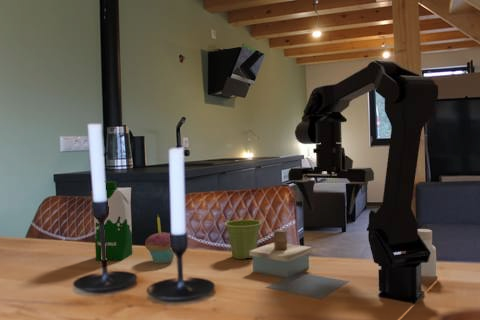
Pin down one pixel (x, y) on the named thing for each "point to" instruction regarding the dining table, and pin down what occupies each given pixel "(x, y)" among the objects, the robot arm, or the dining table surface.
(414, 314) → the dining table surface
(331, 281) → the mat
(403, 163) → the robot arm
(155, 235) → the cupcake
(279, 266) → the open box
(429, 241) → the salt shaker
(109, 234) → the milk carton
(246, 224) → the plant pot
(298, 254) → the lid
